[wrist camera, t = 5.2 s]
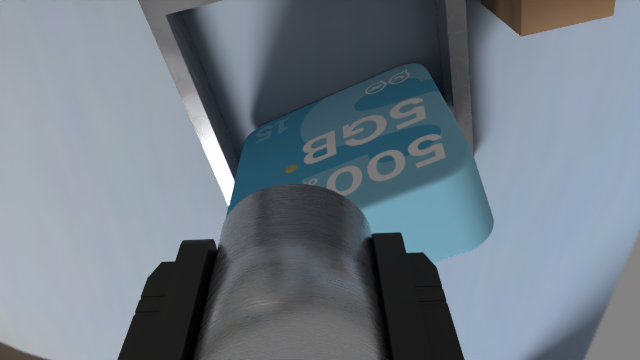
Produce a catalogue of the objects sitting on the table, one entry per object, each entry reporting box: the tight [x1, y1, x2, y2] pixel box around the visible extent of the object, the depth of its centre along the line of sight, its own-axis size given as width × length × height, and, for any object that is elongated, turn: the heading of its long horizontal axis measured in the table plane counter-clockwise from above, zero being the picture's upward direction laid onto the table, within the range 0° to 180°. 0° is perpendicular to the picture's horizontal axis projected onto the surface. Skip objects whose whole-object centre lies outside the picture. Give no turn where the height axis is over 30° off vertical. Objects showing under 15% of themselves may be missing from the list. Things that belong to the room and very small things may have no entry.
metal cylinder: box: [193, 184, 390, 360], centre depth 10 cm, size 4×4×6 cm
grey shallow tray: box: [138, 0, 474, 205], centre depth 28 cm, size 21×16×2 cm
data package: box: [226, 63, 493, 263], centre depth 25 cm, size 12×4×12 cm, turn 115°
